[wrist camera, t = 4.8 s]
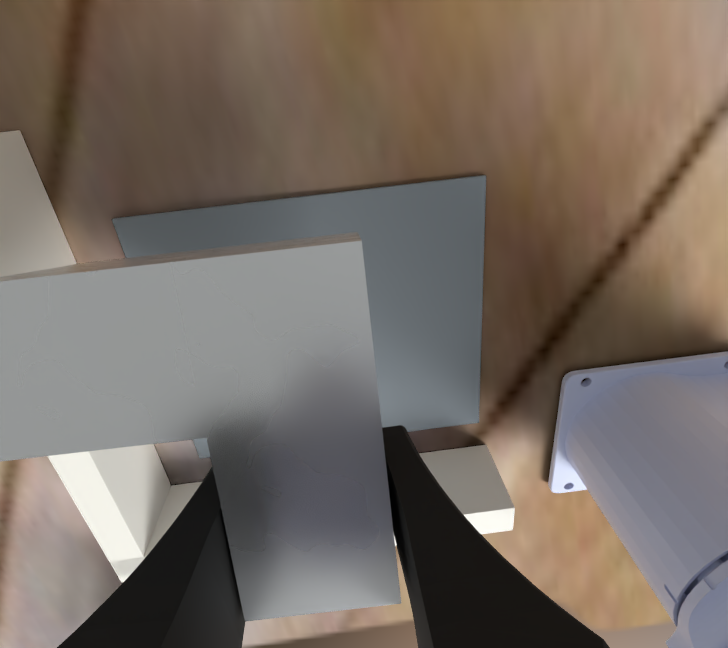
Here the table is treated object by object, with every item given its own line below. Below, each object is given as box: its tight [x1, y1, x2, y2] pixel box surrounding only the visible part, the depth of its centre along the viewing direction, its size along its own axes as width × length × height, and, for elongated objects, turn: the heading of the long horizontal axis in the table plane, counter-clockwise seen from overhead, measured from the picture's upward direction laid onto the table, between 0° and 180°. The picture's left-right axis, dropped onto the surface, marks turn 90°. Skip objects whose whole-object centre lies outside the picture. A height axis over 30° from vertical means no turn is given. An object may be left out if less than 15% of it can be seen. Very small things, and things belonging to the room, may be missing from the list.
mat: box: [112, 175, 486, 458], centre depth 20 cm, size 14×12×1 cm
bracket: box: [0, 232, 401, 621], centre depth 11 cm, size 8×8×5 cm
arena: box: [0, 130, 515, 582], centre depth 18 cm, size 18×18×4 cm
